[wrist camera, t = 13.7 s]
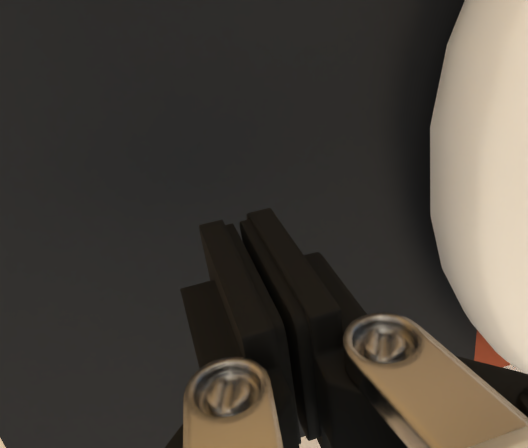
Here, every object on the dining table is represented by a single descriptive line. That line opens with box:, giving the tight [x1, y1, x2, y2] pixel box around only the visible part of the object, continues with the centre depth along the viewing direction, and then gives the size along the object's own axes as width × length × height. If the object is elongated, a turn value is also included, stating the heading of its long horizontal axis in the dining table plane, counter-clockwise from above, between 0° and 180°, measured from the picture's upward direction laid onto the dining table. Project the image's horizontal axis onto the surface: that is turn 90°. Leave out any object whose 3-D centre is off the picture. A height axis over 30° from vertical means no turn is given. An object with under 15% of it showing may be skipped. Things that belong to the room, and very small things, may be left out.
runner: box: [0, 0, 510, 448], centre depth 19 cm, size 25×40×1 cm, turn 97°
